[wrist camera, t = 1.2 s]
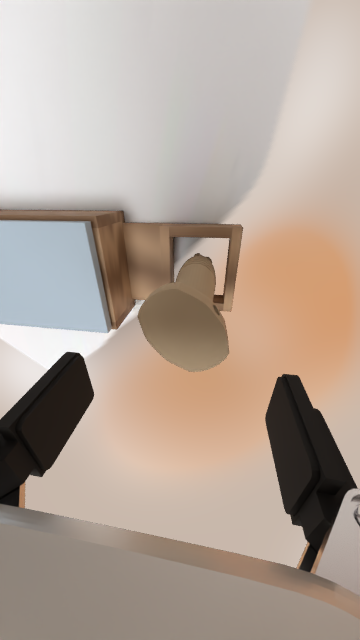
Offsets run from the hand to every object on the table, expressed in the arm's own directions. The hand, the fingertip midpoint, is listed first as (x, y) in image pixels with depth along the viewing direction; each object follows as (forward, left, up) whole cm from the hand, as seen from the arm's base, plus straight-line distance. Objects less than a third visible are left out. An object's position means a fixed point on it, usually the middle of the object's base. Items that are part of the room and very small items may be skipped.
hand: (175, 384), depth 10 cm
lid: (0, -19, -12) cm, 22 cm away
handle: (0, 0, -19) cm, 19 cm away
